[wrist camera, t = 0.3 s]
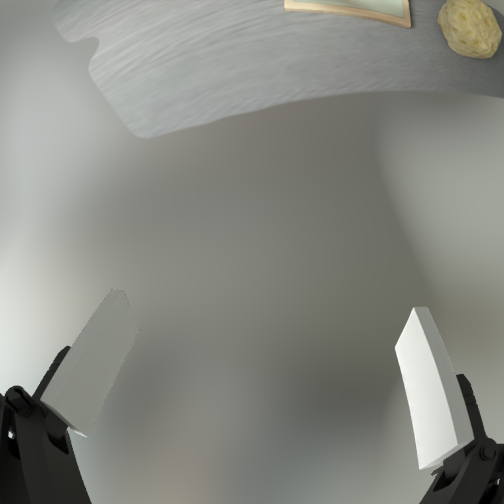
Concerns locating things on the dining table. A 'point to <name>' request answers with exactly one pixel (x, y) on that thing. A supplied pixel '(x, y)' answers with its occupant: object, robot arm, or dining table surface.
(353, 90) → the dining table surface
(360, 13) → the board
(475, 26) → the decorative item
